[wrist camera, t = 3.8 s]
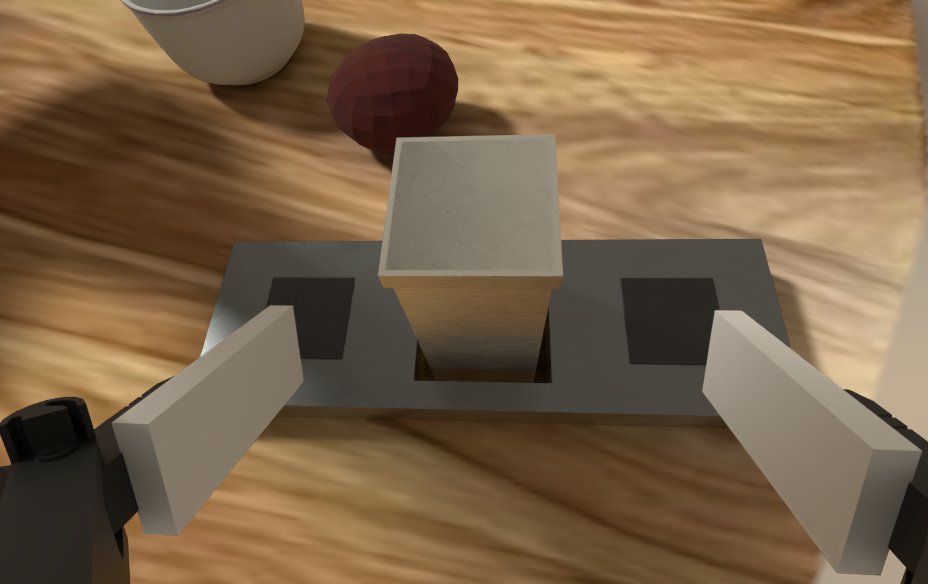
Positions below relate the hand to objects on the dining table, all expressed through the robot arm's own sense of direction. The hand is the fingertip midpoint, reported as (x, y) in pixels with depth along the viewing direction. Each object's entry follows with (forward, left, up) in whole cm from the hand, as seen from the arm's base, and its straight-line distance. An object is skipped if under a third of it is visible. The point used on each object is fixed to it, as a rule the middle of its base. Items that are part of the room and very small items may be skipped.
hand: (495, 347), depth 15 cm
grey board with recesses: (-1, +4, -10) cm, 11 cm away
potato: (-7, +19, -10) cm, 23 cm away
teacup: (-21, +28, -10) cm, 36 cm away
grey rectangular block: (-1, +4, -10) cm, 11 cm away
